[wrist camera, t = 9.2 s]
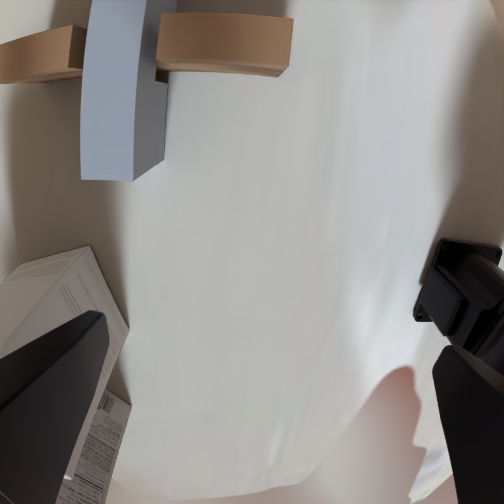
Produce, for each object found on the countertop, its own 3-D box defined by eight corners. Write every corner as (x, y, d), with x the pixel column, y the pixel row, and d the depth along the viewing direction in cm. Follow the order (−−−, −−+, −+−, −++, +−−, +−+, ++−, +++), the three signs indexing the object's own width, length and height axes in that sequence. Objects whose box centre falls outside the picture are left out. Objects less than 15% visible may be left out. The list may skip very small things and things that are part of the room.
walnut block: (281, 42, 14) (293, 19, 10) (277, 77, 15) (288, 66, 10) (45, 52, 14) (-7, 47, 9) (42, 82, 14) (-10, 84, 10)
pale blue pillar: (184, -39, 12) (163, -79, 7) (163, 159, 17) (133, 181, 12) (141, -35, 12) (109, -70, 7) (121, 158, 17) (81, 179, 12)
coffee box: (93, 429, 29) (55, 550, 14) (46, 396, 27) (-7, 517, 12) (135, 406, 26) (95, 562, 12) (79, 366, 24) (11, 523, 9)
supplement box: (19, 261, 20) (-85, 371, 8) (92, 242, 19) (-25, 384, 8) (59, 339, 23) (-8, 459, 11) (132, 333, 22) (75, 485, 11)
